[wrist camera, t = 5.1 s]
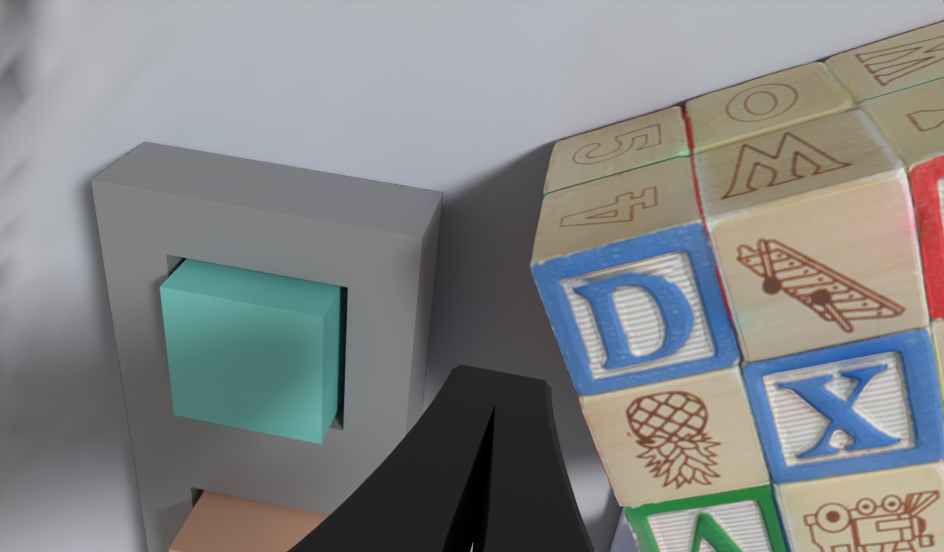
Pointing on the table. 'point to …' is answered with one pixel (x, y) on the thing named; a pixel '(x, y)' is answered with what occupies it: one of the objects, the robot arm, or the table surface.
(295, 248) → the button panel
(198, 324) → the teal button
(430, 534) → the robot arm
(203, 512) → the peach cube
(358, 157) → the table surface
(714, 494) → the stack of blocks
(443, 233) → the table surface
